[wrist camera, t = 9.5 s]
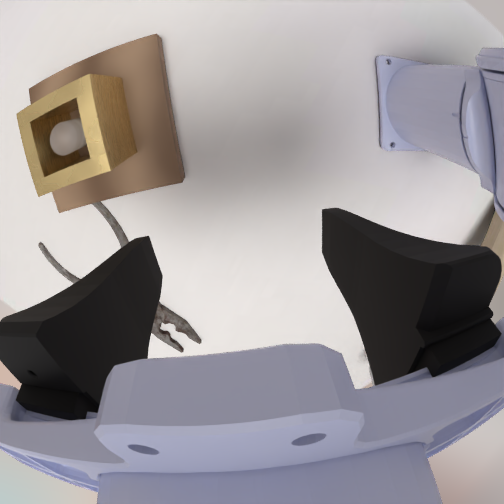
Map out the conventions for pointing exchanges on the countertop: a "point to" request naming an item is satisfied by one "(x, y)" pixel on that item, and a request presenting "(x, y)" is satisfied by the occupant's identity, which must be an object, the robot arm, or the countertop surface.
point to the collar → (94, 126)
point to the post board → (141, 117)
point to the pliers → (162, 312)
